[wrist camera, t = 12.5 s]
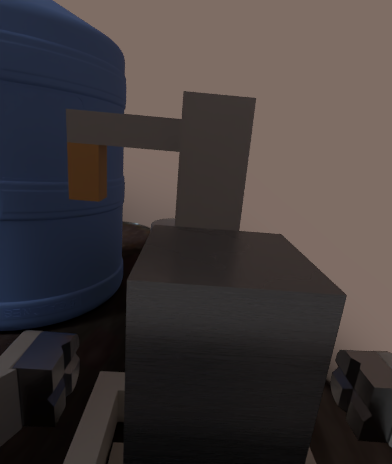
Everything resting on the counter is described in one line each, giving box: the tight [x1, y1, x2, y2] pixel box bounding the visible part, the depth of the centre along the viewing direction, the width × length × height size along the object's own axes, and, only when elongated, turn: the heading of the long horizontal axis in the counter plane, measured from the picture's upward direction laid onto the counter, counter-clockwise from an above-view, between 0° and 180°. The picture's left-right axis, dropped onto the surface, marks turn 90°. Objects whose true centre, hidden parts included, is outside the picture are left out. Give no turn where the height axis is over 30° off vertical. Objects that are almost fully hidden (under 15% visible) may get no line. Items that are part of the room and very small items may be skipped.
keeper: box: [63, 91, 316, 464], centre depth 11 cm, size 12×13×16 cm
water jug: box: [0, 0, 126, 331], centre depth 24 cm, size 16×16×28 cm
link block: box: [123, 225, 346, 464], centre depth 9 cm, size 4×4×11 cm
